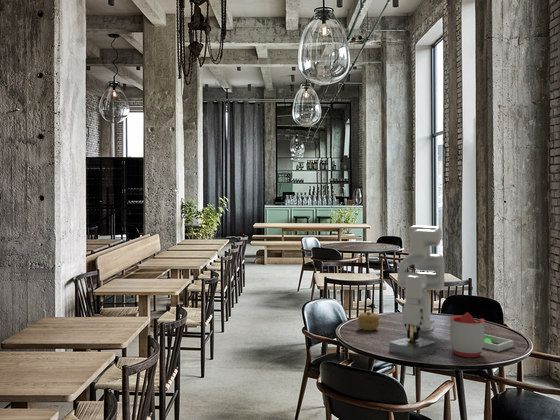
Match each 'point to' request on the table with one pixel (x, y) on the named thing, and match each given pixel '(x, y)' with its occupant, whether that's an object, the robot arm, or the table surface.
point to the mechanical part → (487, 340)
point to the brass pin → (412, 334)
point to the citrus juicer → (466, 335)
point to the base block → (412, 347)
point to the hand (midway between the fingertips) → (412, 338)
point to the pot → (368, 321)
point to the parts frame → (501, 342)
